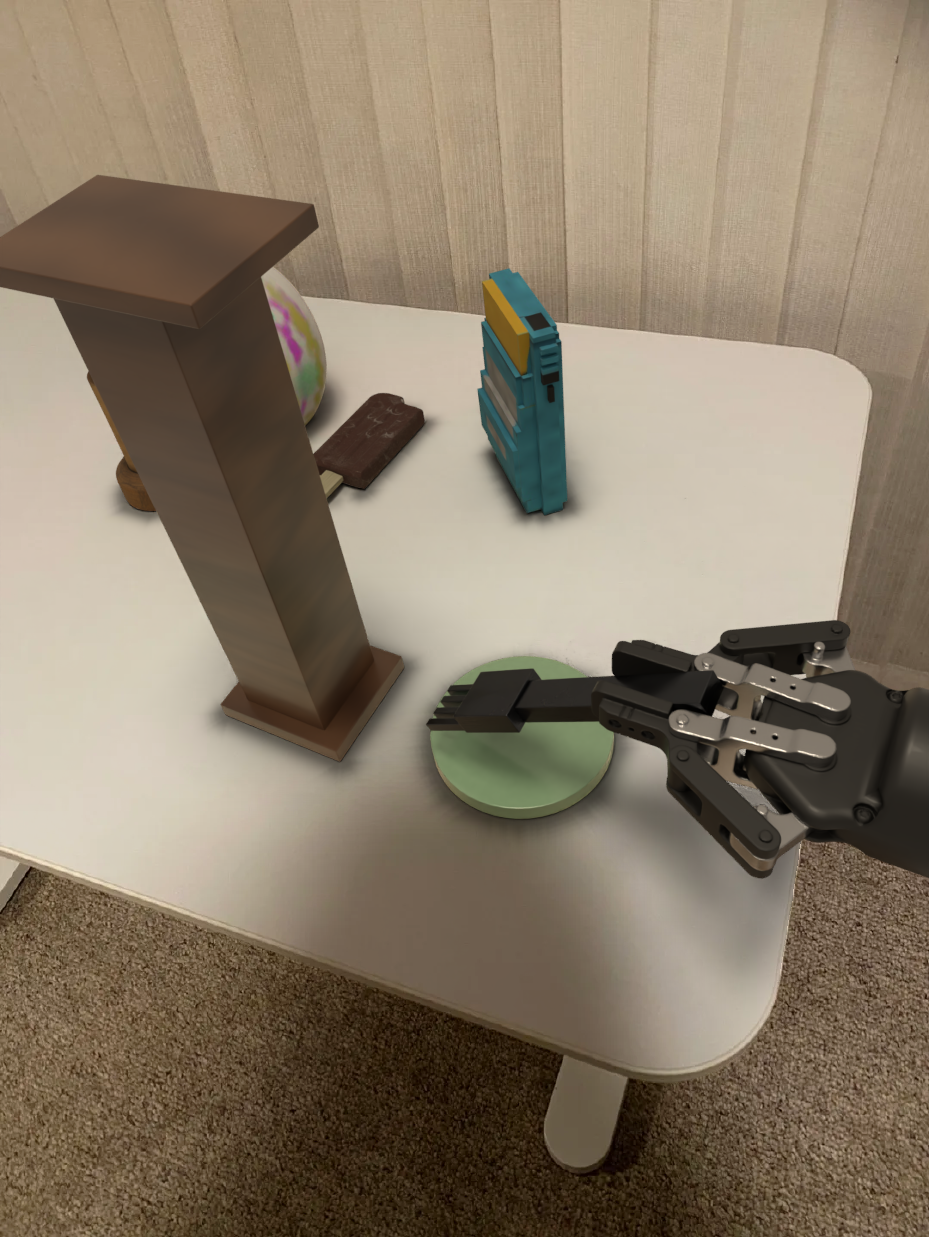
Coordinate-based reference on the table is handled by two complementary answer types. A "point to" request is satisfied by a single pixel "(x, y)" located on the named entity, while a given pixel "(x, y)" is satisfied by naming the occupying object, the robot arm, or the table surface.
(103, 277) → the stand
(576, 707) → the fork
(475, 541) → the table surface
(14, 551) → the table surface
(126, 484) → the mortar and pestle
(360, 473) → the ice cream bar
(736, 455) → the table surface
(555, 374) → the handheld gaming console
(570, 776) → the plate
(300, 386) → the decorative egg
